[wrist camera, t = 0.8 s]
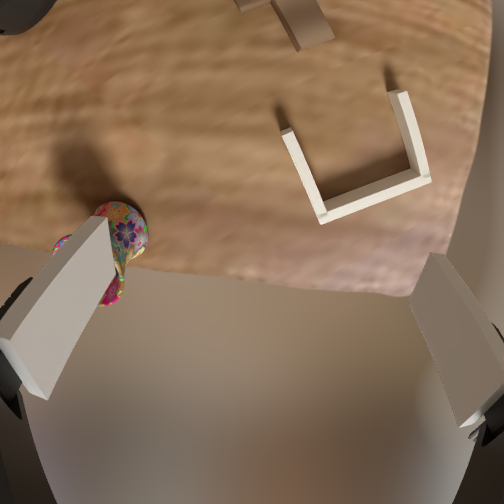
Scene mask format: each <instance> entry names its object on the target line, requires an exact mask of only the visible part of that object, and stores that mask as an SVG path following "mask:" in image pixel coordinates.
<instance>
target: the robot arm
mask: <svg viewBox="0 0 504 504" xmlns="http://www.w3.org/2000/svg"><path fill="white" fill-rule="evenodd" d="M55 2H56V0H0V35H17V34H20V33H23V32H25V31H27V30H28V29H30V28H32V27H33V26H34V25H35V24H37V23H38V22H39V21H40V20H41V19H42V18H43V17H44V16H45V15H46V14H47V13H48V11H49V10H50V9H51V8H52V6H53V5H54V3H55ZM115 275H116V271H115V266H114V260H113V254H112V247H111V241H110V234H109V227H108V219H107V217H101V216H90V217H89V218H88V219H87V220H86V221H85V222H84V223H83V224H82V225H81V226H80V227H79V228H78V229H77V231H76V232H75V233H74V234H73V235H72V236H71V237H70V238H69V239H68V240H67V241H66V242H65V243H64V244H63V245H62V246H61V247H60V249H59V250H58V251H57V252H56V253H55V254H54V255H53V256H52V257H51V259H50V260H49V261H48V262H47V263H46V264H45V265H44V266H43V268H42V269H41V270H40V271H39V272H38V273H37V275H36V276H35V277H34V278H32V277H30V278H28V279H27V280H26V281H24V282H23V283H21V284H20V285H19V286H18V287H17V288H16V289H15V291H14V292H13V293H12V294H11V297H9V298H8V299H7V301H6V302H5V305H3V306H2V307H1V308H0V504H57V502H56V500H55V498H54V495H53V493H52V491H51V488H50V486H49V483H48V481H47V478H46V476H45V473H44V470H43V467H42V465H41V462H40V459H39V456H38V453H37V450H36V447H35V444H34V440H33V437H32V433H31V430H30V427H29V423H28V419H27V415H26V411H25V407H24V403H23V398H22V395H21V392H20V391H19V388H20V385H21V384H22V383H23V384H24V386H25V387H26V388H27V390H28V391H29V392H30V393H31V394H34V395H36V396H38V397H41V398H44V399H46V400H48V399H49V396H50V394H51V392H52V390H53V388H54V386H55V384H56V382H57V379H58V378H59V375H60V373H61V371H62V369H63V367H64V365H65V363H66V361H67V359H68V358H69V356H70V354H71V352H72V350H73V348H74V346H75V344H76V342H77V340H78V338H79V337H80V334H81V333H82V331H83V329H84V328H85V326H86V324H87V322H88V320H89V319H90V317H91V315H92V313H93V312H94V310H95V308H96V306H97V305H98V303H99V301H100V300H101V298H102V296H103V295H104V293H105V291H106V290H107V288H108V286H109V285H110V283H111V281H112V280H113V278H114V276H115ZM408 305H409V307H410V309H411V311H412V313H413V315H414V317H415V319H416V322H417V324H418V326H419V328H420V330H421V332H422V335H423V337H424V339H425V342H426V344H427V346H428V348H429V351H430V353H431V355H432V358H433V360H434V362H435V365H436V368H437V370H438V373H439V375H440V378H441V380H442V383H443V385H444V388H445V390H446V393H447V396H448V399H449V401H450V404H451V407H452V410H453V413H454V416H455V419H456V422H457V425H458V427H459V428H460V427H464V426H467V425H471V424H474V423H475V422H476V421H477V420H478V419H479V418H480V417H481V416H482V415H483V414H484V416H485V419H486V420H485V421H484V422H483V423H482V424H481V425H480V426H479V427H478V428H476V429H475V430H474V431H473V432H472V433H471V434H470V435H469V437H468V438H469V439H471V438H472V437H473V436H474V435H475V434H477V433H478V436H477V437H476V438H475V439H474V440H473V441H474V442H476V443H475V446H474V449H473V452H472V455H471V458H470V461H469V464H468V467H467V469H466V472H465V475H464V477H463V480H462V482H461V485H460V487H459V490H458V492H457V494H456V496H455V499H454V501H453V503H452V504H504V338H503V336H502V335H501V333H500V332H499V330H498V328H496V326H495V325H494V324H493V323H492V322H491V321H490V320H489V318H488V316H487V315H486V313H485V312H484V310H483V309H482V307H481V306H480V304H479V303H478V301H477V300H476V298H475V297H474V295H473V294H472V292H471V291H470V289H469V288H468V287H467V285H466V284H465V282H464V281H463V280H462V278H461V277H460V275H459V274H458V273H457V271H456V270H455V268H454V267H453V266H452V264H451V263H450V262H449V261H448V259H447V258H446V257H445V255H444V254H439V253H431V252H430V254H429V257H428V259H427V261H426V264H425V266H424V268H423V271H422V273H421V275H420V277H419V280H418V282H417V284H416V286H415V288H414V291H413V293H412V295H411V297H410V299H409V301H408Z"/></svg>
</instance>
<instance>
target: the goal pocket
mask: <svg viewBox="0 0 504 504" xmlns="http://www.w3.org/2000/svg"><path fill="white" fill-rule="evenodd" d="M387 94H388V96H389V99H390V102H391V105H392V108H393V111H394V114H395V117H396V120H397V123H398V126H399V129H400V132H401V136H402V139H403V142H404V146H405V149H406V153H407V156H408V160H409V164H410V169H407V170H404V171H402V172H399V173H396V174H394V175H391V176H388V177H386V178H383V179H380V180H378V181H375V182H373V183H370V184H367V185H365V186H362V187H359V188H357V189H354V190H352V191H349V192H346V193H344V194H341V195H339V196H336V197H333V198H331V199H328V200H326V201H322V198H321V196H320V193H319V191H318V189H317V186H316V184H315V181H314V179H313V176H312V174H311V172H310V169H309V167H308V165H307V162H306V160H305V158H304V155H303V153H302V151H301V148H300V146H299V144H298V142H297V139H296V137H295V135H294V133H293V131H292V129H291V127H290V128H287V129H285V130H282V131H281V135H282V138H283V140H284V142H285V144H286V146H287V148H288V151H289V153H290V155H291V157H292V159H293V162H294V164H295V166H296V168H297V171H298V173H299V175H300V177H301V180H302V182H303V184H304V187H305V189H306V191H307V194H308V196H309V198H310V201H311V203H312V206H313V208H314V210H315V213H316V215H317V218H318V220H319V223H320V225H322V224H324V223H327V222H329V221H332V220H335V219H337V218H340V217H342V216H345V215H348V214H350V213H353V212H355V211H358V210H361V209H363V208H366V207H368V206H371V205H374V204H376V203H379V202H381V201H384V200H387V199H389V198H392V197H394V196H397V195H400V194H402V193H405V192H407V191H410V190H413V189H415V188H418V187H420V186H423V185H426V184H428V183H431V182H432V181H431V177H430V172H429V168H428V163H427V159H426V155H425V151H424V147H423V143H422V139H421V136H420V132H419V128H418V125H417V122H416V118H415V115H414V112H413V108H412V105H411V102H410V99H409V96H408V93H407V91H403V90H393V91H389V92H387Z"/></svg>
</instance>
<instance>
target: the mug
mask: <svg viewBox="0 0 504 504" xmlns="http://www.w3.org/2000/svg"><path fill="white" fill-rule="evenodd" d="M93 216H101V217H107V219H108V227H109V234H110V241H111V247H112V254H113V260H114V266H115V271H116V275H115V276H114V278H113V280H112V281H111V283H110V285H109V286H108V288H107V290H106V291H105V293H104V295H103V296H102V298H101V300H100V301H99V303H98V305H97V306H108V305H110V304H113V303H114V302H116V301H117V300H118V299H119V297H120V296H121V294H122V292H123V288H124V271H125V268H126V265H127V263H128V262H129V260H130V259H132V258H135V257H137V256H139V255H140V254H141V253H142V252H143V251H144V250H145V248H146V246H147V243H148V229H147V226H146V223H145V221H144V219H143V218H142V216H141V215H140V214H139V213H138V212H137V211H136V210H135V209H134V208H133V207H131V206H129V205H128V204H125V203H122V202H117V201H112V202H107V203H104V204H102V205H101V206H99V207H98V208H97V210H96V211H95V213H94V215H93ZM72 235H73V234H71V235H67V236H65V237H63V238H61V239H60V240H59V241H58V242H57V243H56V245H55V247H54V249H53V253H52V256H53V255H54V254H55V253H56V252H57V251H58V250H59V249H60V247H61V246H62V245H63V244H64V243H65V242H66V241H67V240H68V239H69V238H70V237H71V236H72Z"/></svg>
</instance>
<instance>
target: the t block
mask: <svg viewBox="0 0 504 504" xmlns="http://www.w3.org/2000/svg"><path fill="white" fill-rule="evenodd" d="M234 1H235V3H236V5H237V6H238V8H239V10H240V11H241V13H242V14H243V13H246V12H248V11H251V10H253V9H256V8H258V7H261V6H263V5H266V4H269V3H271V5H272V7H273V8H274V10H275V12H276V13H277V15H278V17H279V19H280V21H281V22H282V24H283V26H284V28H285V30H286V32H287V33H288V35H289V37H290V39H291V41H292V43H293V45H294V47H295V49H296V51H297V52H300V51H303V50H306V49H308V48H311V47H314V46H317V45H320V44H323V43H326V42H328V41H330V40H332V39H333V38H335V36H334V34H333V32H332V30H331V28H330V26H329V24H328V22H327V20H326V19H325V17H324V15H323V13H322V11H321V9H320V7H319V6H318V4H317V2H316V0H234Z"/></svg>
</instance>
